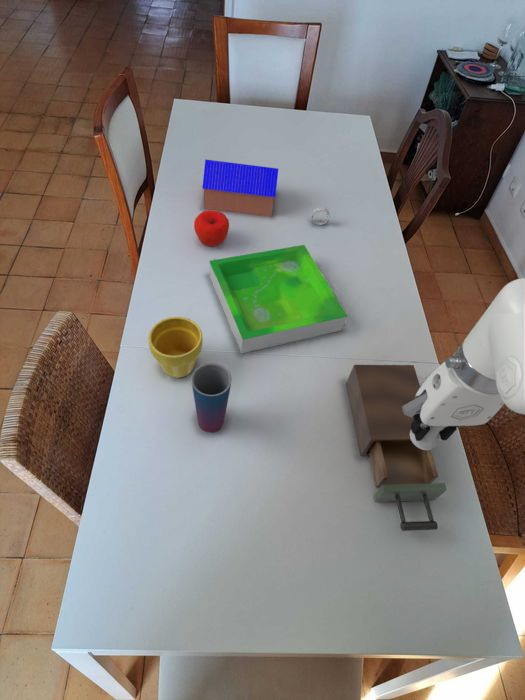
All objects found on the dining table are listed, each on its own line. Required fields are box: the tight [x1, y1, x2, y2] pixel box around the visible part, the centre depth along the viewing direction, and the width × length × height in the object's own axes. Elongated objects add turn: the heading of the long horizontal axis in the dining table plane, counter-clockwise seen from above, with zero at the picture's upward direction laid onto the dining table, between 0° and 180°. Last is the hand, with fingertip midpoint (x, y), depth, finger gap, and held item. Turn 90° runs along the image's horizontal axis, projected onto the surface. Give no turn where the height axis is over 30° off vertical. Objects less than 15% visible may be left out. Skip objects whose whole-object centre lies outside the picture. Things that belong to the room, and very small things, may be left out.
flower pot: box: [148, 316, 203, 379], centre depth 92 cm, size 10×10×10 cm
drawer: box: [368, 441, 448, 532], centre depth 83 cm, size 21×11×5 cm, turn 4°
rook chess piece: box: [410, 426, 448, 451], centre depth 70 cm, size 4×4×8 cm
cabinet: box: [345, 364, 421, 457], centre depth 91 cm, size 17×13×7 cm
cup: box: [191, 362, 233, 434], centre depth 83 cm, size 7×7×15 cm
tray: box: [209, 244, 348, 354], centre depth 108 cm, size 25×25×5 cm
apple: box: [193, 209, 230, 247], centre depth 118 cm, size 9×9×8 cm
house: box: [202, 158, 279, 218], centre depth 128 cm, size 12×20×12 cm, turn 87°
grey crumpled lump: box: [310, 207, 330, 226], centre depth 128 cm, size 3×5×5 cm, turn 90°
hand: (428, 431), depth 71 cm, fingers closed on rook chess piece, 3 cm apart
